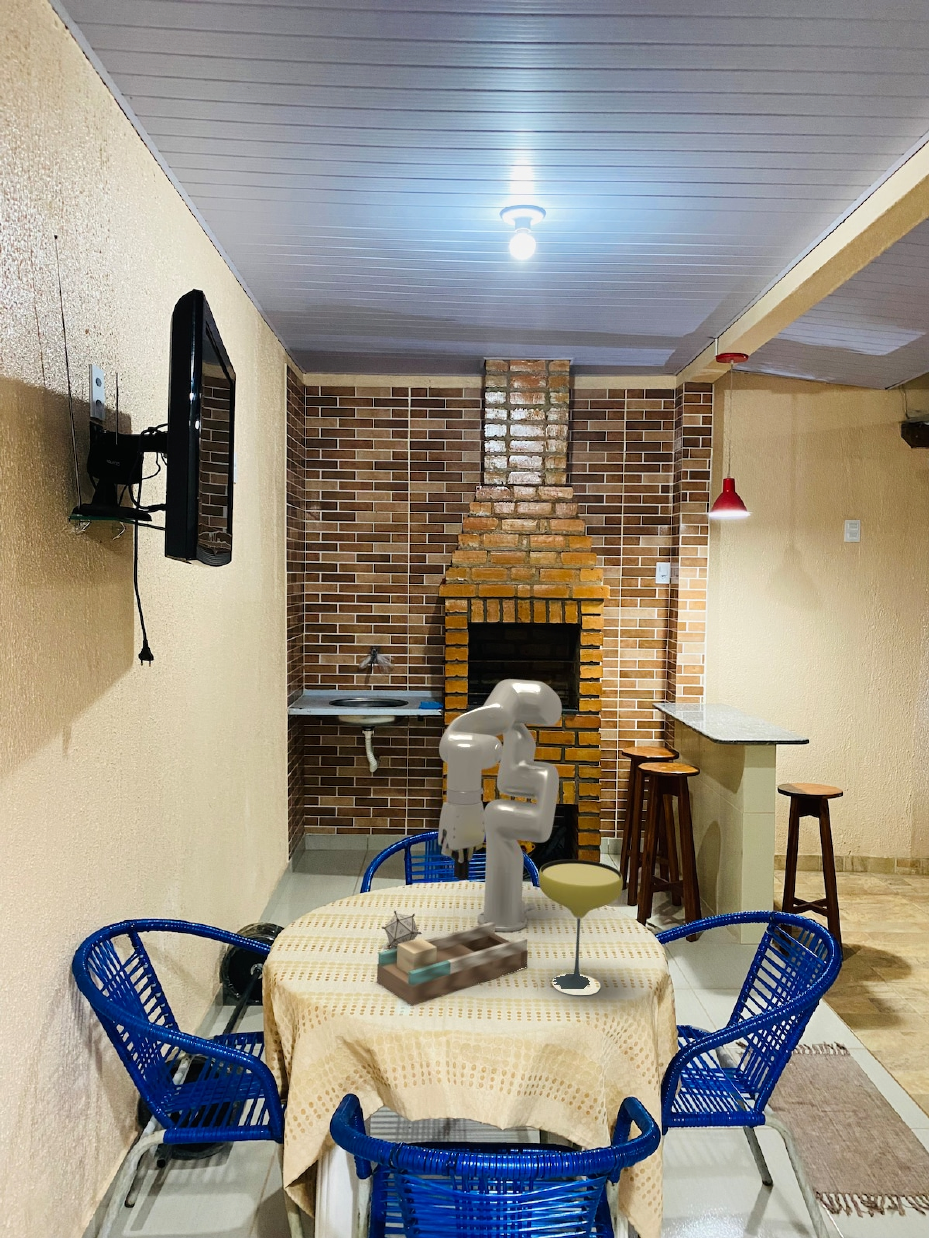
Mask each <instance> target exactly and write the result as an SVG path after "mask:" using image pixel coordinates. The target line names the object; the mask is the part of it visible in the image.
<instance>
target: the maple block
mask: <svg viewBox="0 0 929 1238" xmlns="http://www.w3.org/2000/svg"><path fill="white" fill-rule="evenodd" d="M425 940H426V939H425ZM425 940H424V939H423V938H422V937H418V938H415V939H414V940H411V941H407V942H403V943H400V944H398V945H397V946H396V948H397V967H398V968H399V969H401V970H402V971H404V972H406V973H407V974H409V972H410V971H413V970H417V969H420V968H423V967H427V966H430V965H433V964H436V956H437V947H436V946H434V945H432V944H430V943H428V942H427V941H425Z"/></svg>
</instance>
